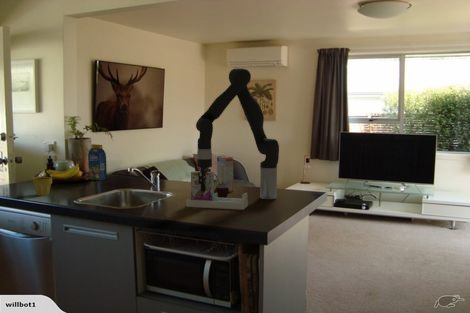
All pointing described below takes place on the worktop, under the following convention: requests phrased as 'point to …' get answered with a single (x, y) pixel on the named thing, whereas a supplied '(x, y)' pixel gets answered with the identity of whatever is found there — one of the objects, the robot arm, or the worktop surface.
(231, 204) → the pusher lane
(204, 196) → the candy bar box
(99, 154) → the blue food package
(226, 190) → the mate gourd
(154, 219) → the worktop surface
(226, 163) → the cracker box
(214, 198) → the pusher paddle
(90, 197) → the worktop surface
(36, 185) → the plant pot
